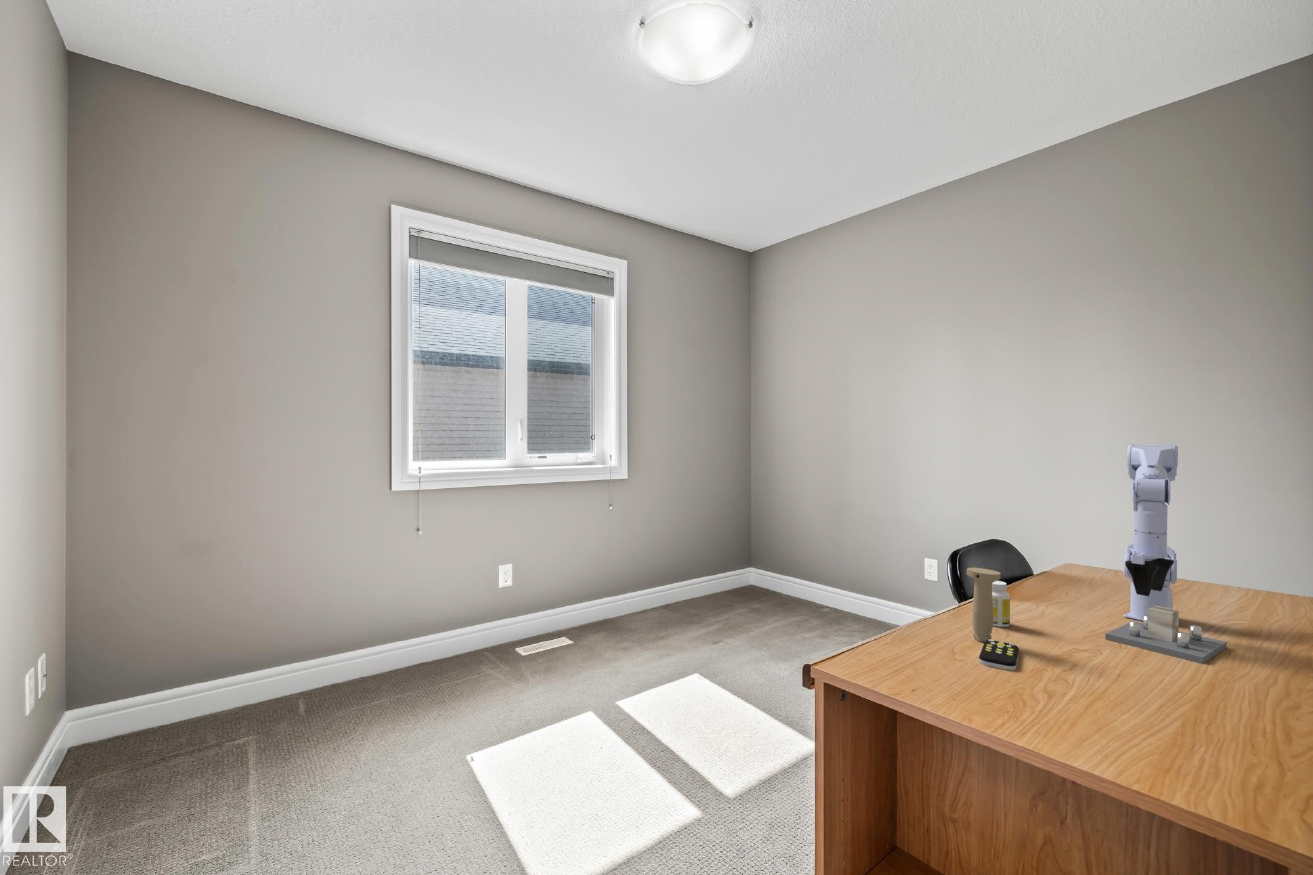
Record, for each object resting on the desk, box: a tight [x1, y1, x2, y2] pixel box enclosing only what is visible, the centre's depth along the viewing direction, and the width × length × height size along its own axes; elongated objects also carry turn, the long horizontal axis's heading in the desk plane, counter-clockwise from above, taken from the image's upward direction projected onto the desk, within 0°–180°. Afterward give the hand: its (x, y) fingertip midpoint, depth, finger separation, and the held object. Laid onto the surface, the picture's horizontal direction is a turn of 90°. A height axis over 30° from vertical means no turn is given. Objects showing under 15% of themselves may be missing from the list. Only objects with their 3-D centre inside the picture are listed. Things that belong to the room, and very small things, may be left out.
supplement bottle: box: [992, 580, 1011, 628], centre depth 137 cm, size 5×5×10 cm
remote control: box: [978, 638, 1020, 671], centre depth 116 cm, size 6×13×2 cm, turn 145°
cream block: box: [1148, 606, 1180, 642], centre depth 126 cm, size 4×4×6 cm
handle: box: [966, 567, 1001, 643], centre depth 126 cm, size 5×6×15 cm
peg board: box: [1104, 615, 1228, 664], centre depth 125 cm, size 16×16×4 cm
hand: (1149, 592), depth 131 cm, fingers open, 7 cm apart
